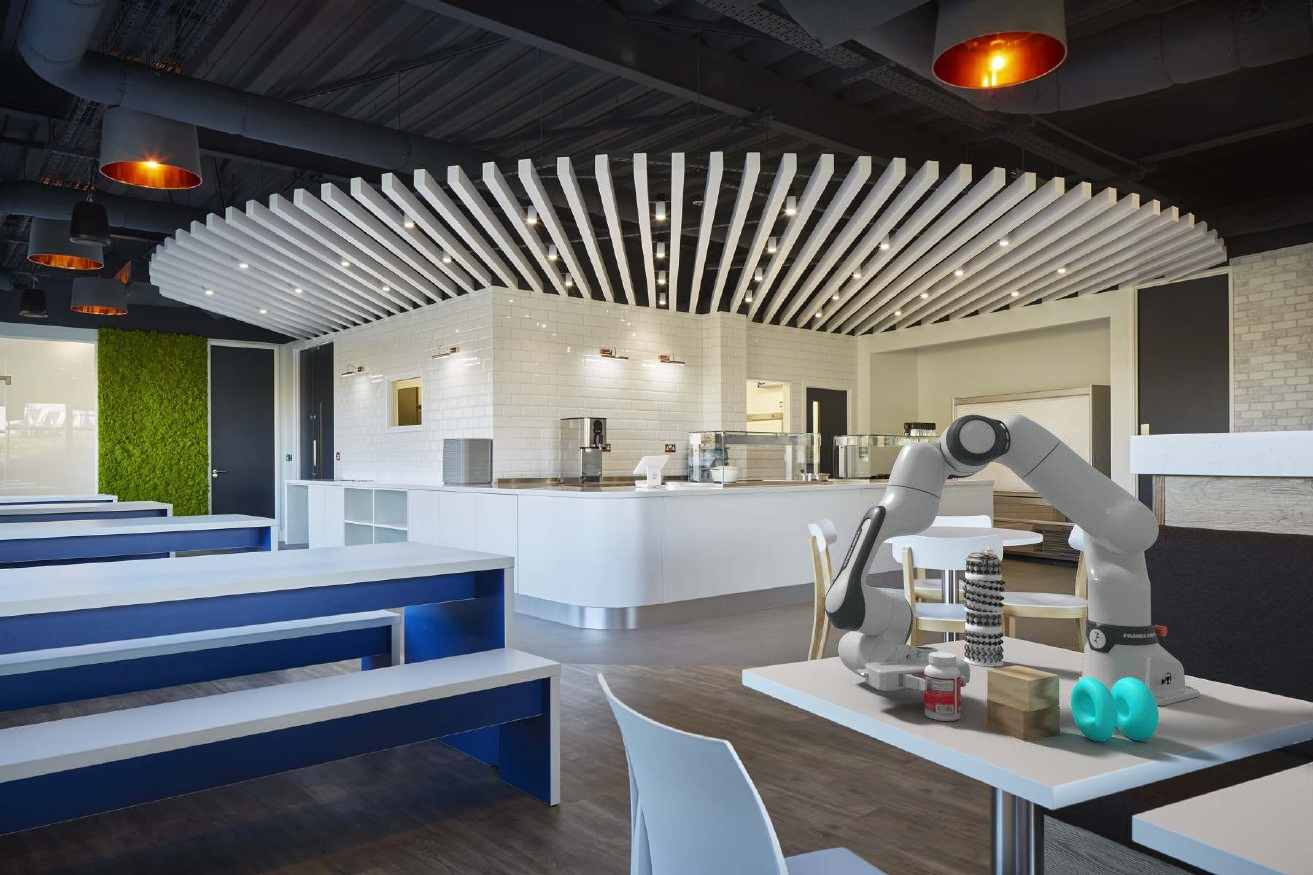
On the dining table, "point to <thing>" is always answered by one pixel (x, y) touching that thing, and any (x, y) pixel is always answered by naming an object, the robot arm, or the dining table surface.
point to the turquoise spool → (1114, 709)
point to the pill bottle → (943, 687)
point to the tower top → (1023, 688)
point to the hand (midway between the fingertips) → (945, 683)
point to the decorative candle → (983, 610)
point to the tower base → (1023, 721)
